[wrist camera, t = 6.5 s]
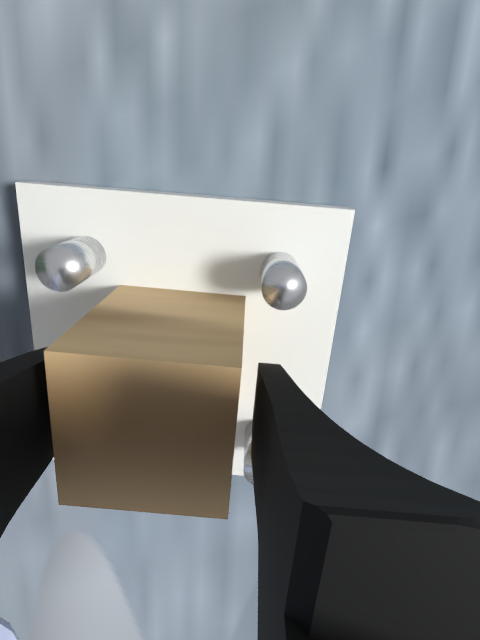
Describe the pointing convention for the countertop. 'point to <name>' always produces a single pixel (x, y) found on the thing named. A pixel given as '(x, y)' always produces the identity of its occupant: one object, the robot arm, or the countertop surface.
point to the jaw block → (148, 402)
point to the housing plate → (193, 269)
